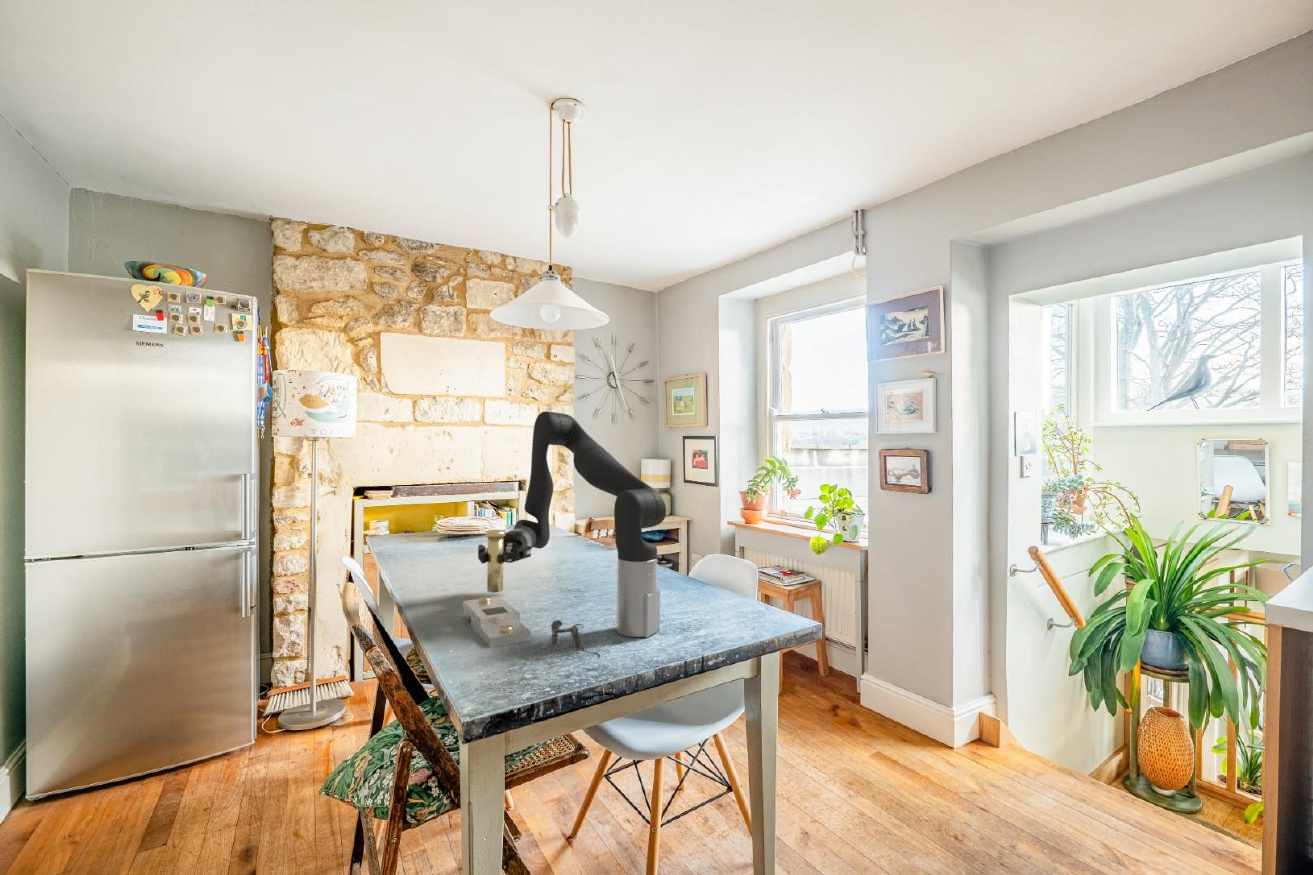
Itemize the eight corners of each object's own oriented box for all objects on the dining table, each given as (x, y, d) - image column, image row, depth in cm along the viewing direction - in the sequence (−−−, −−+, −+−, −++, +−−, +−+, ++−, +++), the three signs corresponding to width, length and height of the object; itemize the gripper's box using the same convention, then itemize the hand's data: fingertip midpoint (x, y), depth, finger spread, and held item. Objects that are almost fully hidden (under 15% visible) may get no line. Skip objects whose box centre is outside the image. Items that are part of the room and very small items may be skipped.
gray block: (530, 640, 129) (530, 618, 129) (490, 647, 124) (490, 625, 124) (498, 611, 149) (499, 593, 149) (463, 616, 145) (463, 597, 145)
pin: (508, 589, 138) (509, 530, 138) (495, 593, 134) (496, 533, 134) (494, 586, 140) (495, 529, 140) (481, 591, 136) (482, 531, 136)
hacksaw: (552, 625, 141) (552, 619, 141) (595, 623, 142) (595, 617, 142) (549, 663, 117) (549, 656, 117) (600, 661, 119) (600, 654, 119)
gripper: (487, 529, 152) (461, 542, 134) (540, 531, 151) (521, 543, 134) (487, 558, 152) (461, 574, 134) (540, 559, 151) (521, 576, 134)
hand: (491, 559), depth 134 cm, fingers closed on pin, 3 cm apart
